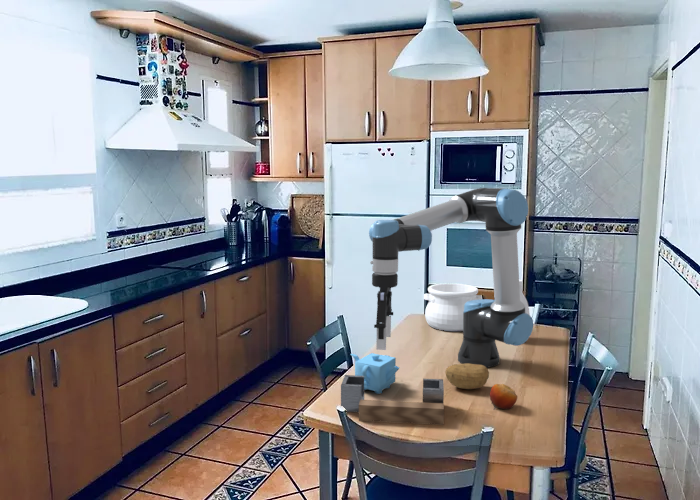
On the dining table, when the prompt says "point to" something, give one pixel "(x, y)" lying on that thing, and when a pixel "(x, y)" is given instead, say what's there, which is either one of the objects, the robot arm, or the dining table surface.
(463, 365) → the potato
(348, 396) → the bracket
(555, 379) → the dining table surface
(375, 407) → the rail
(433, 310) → the pot
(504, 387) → the fruit
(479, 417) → the dining table surface
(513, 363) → the dining table surface
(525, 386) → the dining table surface
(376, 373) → the teapot
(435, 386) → the bracket
